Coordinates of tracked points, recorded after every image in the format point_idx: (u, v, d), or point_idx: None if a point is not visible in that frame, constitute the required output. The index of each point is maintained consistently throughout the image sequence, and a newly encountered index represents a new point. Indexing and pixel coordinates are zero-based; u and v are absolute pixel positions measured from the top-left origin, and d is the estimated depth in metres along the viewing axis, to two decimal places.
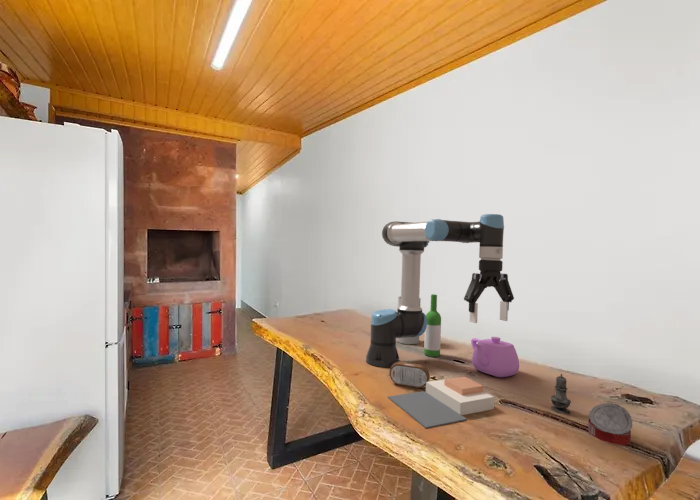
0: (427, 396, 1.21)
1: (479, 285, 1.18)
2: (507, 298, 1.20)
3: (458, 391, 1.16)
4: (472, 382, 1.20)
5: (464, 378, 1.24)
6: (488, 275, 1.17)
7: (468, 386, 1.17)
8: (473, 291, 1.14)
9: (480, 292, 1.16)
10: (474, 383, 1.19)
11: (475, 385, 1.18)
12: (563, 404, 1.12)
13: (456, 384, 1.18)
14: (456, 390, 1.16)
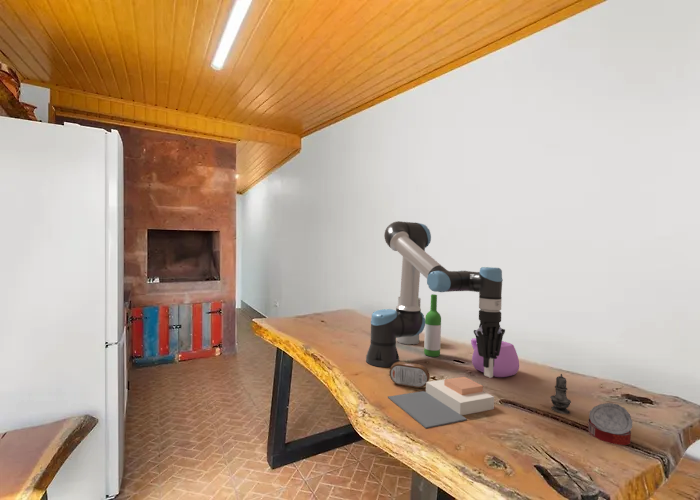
0: (427, 396, 1.21)
1: (484, 338, 1.24)
2: (494, 353, 1.24)
3: (458, 391, 1.16)
4: (472, 382, 1.20)
5: (464, 378, 1.24)
6: (487, 324, 1.22)
7: (468, 386, 1.17)
8: (483, 348, 1.22)
9: (489, 346, 1.23)
10: (474, 383, 1.19)
11: (475, 385, 1.18)
12: (563, 404, 1.12)
13: (456, 384, 1.18)
14: (456, 390, 1.16)
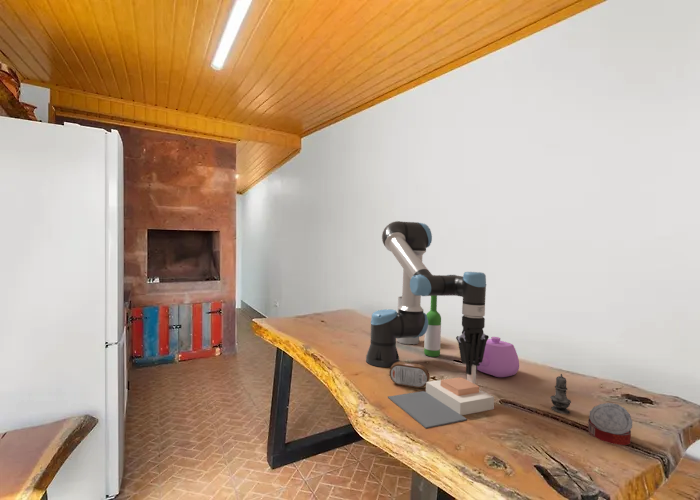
0: (427, 396, 1.21)
1: (467, 345, 1.21)
2: (476, 360, 1.21)
3: (454, 392, 1.15)
4: (468, 383, 1.20)
5: (460, 379, 1.23)
6: (469, 330, 1.19)
7: (464, 387, 1.16)
8: (466, 354, 1.19)
9: (471, 353, 1.20)
10: (470, 384, 1.19)
11: (471, 386, 1.17)
12: (563, 404, 1.12)
13: (452, 385, 1.17)
14: (452, 391, 1.16)
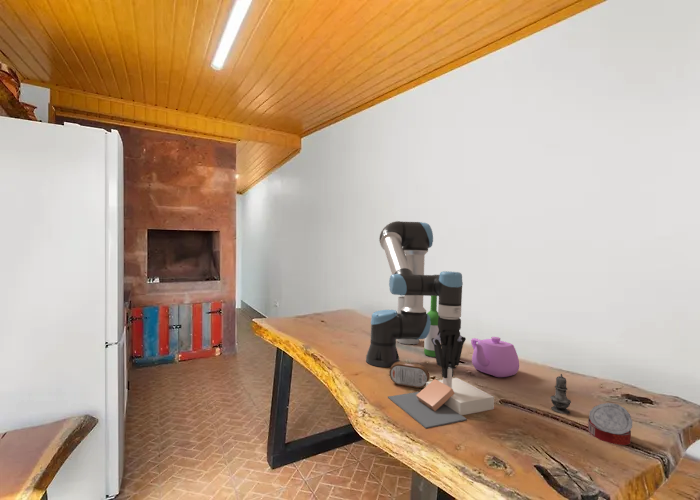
0: None
1: (443, 347, 1.17)
2: (453, 363, 1.17)
3: (430, 407, 1.11)
4: (442, 387, 1.15)
5: (434, 382, 1.19)
6: (445, 332, 1.15)
7: (438, 397, 1.11)
8: (441, 357, 1.15)
9: (447, 355, 1.16)
10: (444, 388, 1.14)
11: (445, 391, 1.12)
12: (563, 404, 1.12)
13: (427, 399, 1.13)
14: (429, 406, 1.12)
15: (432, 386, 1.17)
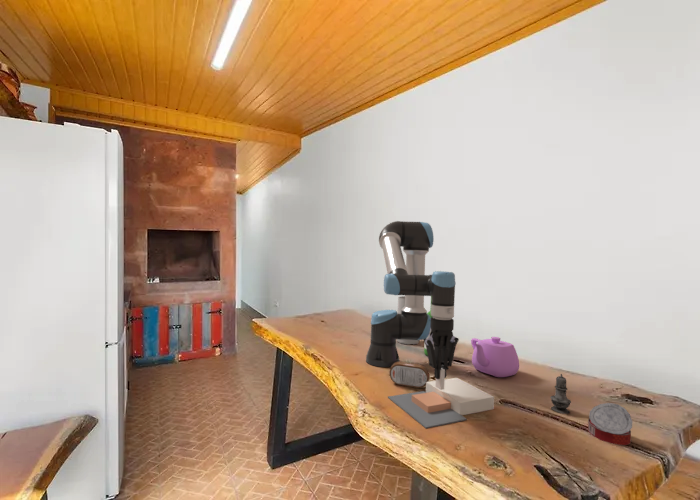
0: None
1: (435, 348, 1.16)
2: (445, 364, 1.15)
3: (424, 408, 1.10)
4: (440, 398, 1.15)
5: (433, 393, 1.18)
6: (437, 332, 1.14)
7: (435, 403, 1.11)
8: (433, 358, 1.13)
9: (440, 356, 1.14)
10: (442, 399, 1.14)
11: (443, 402, 1.12)
12: (563, 404, 1.12)
13: (423, 400, 1.12)
14: (422, 407, 1.11)
15: (430, 395, 1.17)
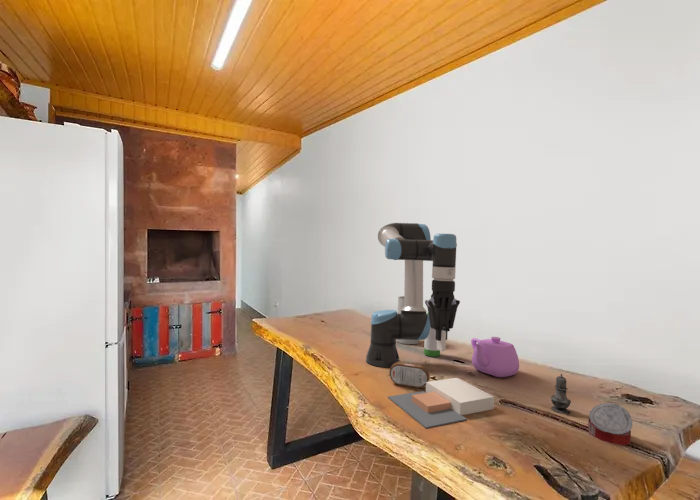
0: None
1: (436, 310, 1.16)
2: (447, 326, 1.15)
3: (424, 408, 1.10)
4: (440, 398, 1.15)
5: (433, 393, 1.18)
6: (439, 294, 1.14)
7: (435, 403, 1.11)
8: (434, 319, 1.13)
9: (441, 318, 1.14)
10: (442, 399, 1.14)
11: (443, 402, 1.12)
12: (563, 404, 1.12)
13: (423, 400, 1.12)
14: (422, 407, 1.11)
15: (430, 395, 1.17)
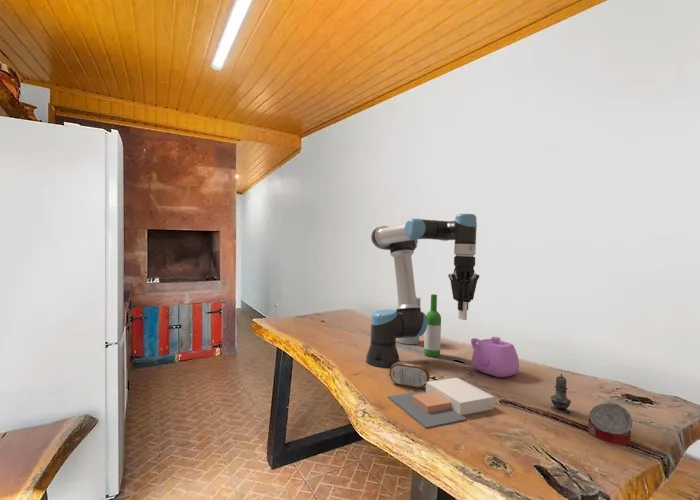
0: None
1: (458, 283, 1.28)
2: (468, 297, 1.28)
3: (424, 408, 1.10)
4: (440, 398, 1.15)
5: (433, 393, 1.18)
6: (461, 268, 1.26)
7: (435, 403, 1.11)
8: (457, 291, 1.26)
9: (463, 290, 1.27)
10: (442, 399, 1.14)
11: (443, 402, 1.12)
12: (563, 404, 1.12)
13: (423, 400, 1.12)
14: (422, 407, 1.11)
15: (430, 395, 1.17)
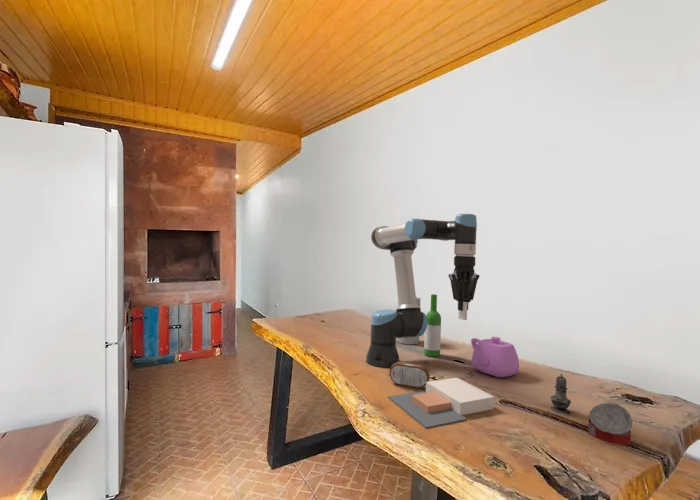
0: None
1: (459, 283, 1.28)
2: (468, 297, 1.28)
3: (424, 408, 1.10)
4: (440, 398, 1.15)
5: (433, 393, 1.18)
6: (461, 268, 1.26)
7: (435, 403, 1.11)
8: (457, 291, 1.26)
9: (463, 290, 1.27)
10: (442, 399, 1.14)
11: (443, 402, 1.12)
12: (563, 404, 1.12)
13: (423, 400, 1.12)
14: (422, 407, 1.11)
15: (430, 395, 1.17)
